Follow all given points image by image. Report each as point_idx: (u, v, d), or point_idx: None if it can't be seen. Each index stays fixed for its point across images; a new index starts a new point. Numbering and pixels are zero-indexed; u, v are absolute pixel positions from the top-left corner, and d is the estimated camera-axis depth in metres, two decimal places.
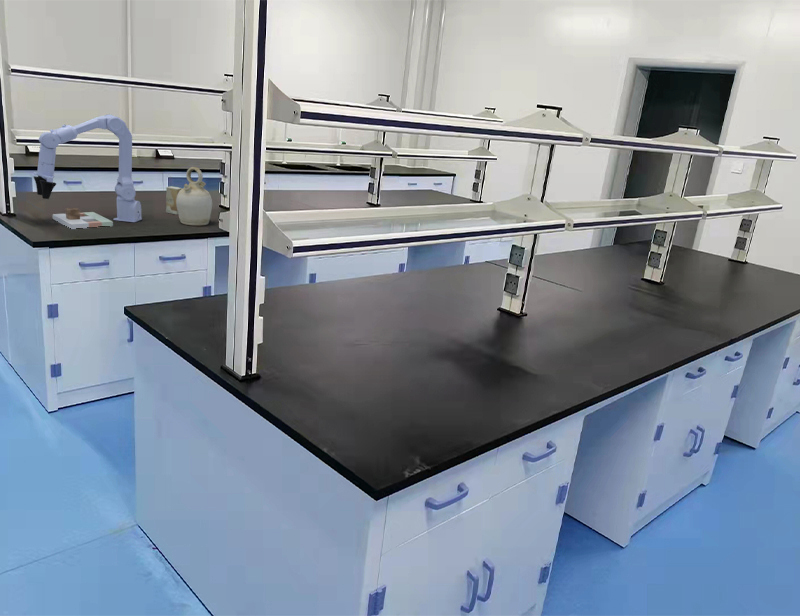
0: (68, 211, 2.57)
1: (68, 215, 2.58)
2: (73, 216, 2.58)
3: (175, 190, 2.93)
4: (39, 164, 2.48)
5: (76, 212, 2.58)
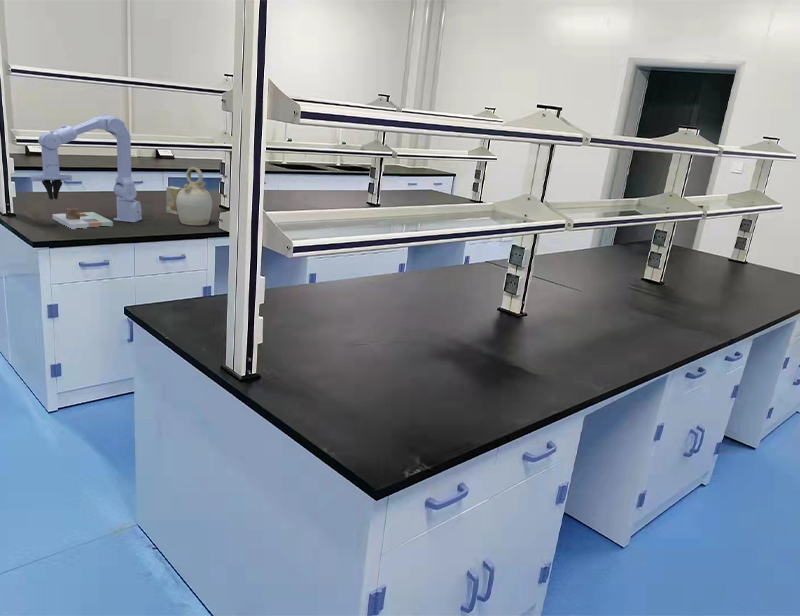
0: (68, 211, 2.57)
1: (68, 215, 2.58)
2: (73, 216, 2.58)
3: (175, 190, 2.93)
4: (55, 167, 2.47)
5: (76, 212, 2.58)
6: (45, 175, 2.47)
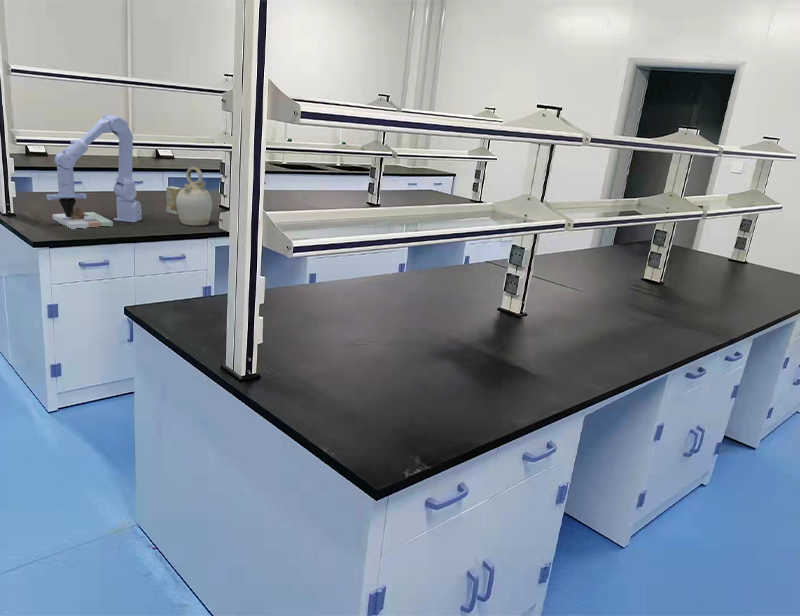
0: (72, 211, 2.58)
1: (72, 215, 2.59)
2: (77, 216, 2.59)
3: (175, 190, 2.93)
4: (70, 186, 2.53)
5: (80, 211, 2.59)
6: (61, 194, 2.53)
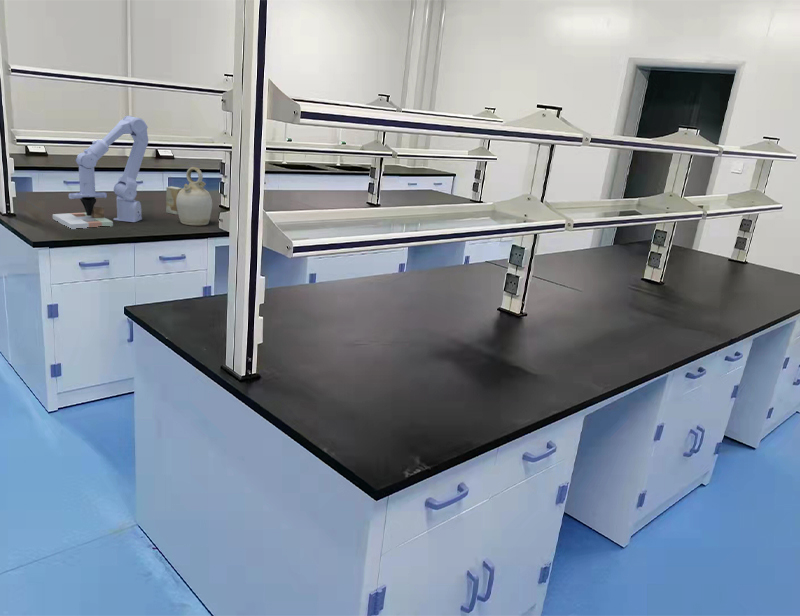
0: (93, 209, 2.64)
1: (93, 213, 2.64)
2: (97, 214, 2.65)
3: (175, 190, 2.93)
4: (92, 185, 2.59)
5: (100, 210, 2.65)
6: (82, 193, 2.58)
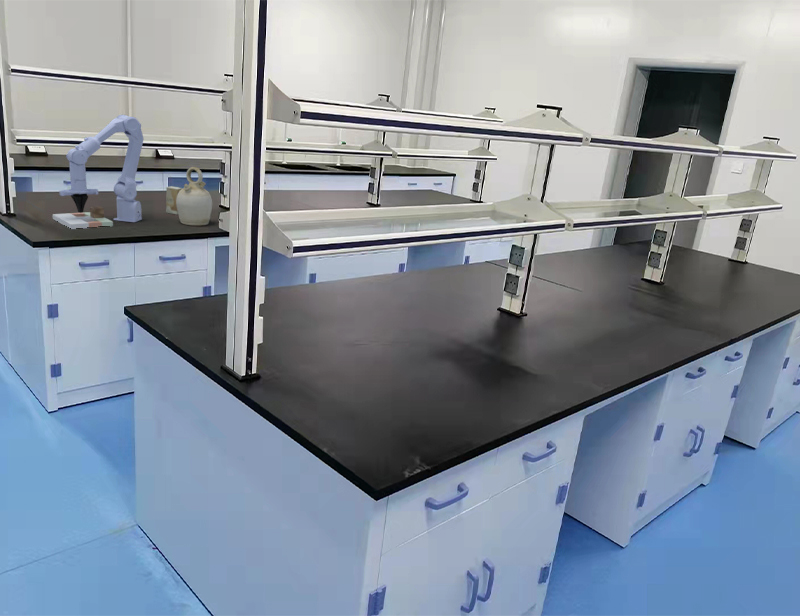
0: (92, 210, 2.64)
1: (92, 214, 2.64)
2: (97, 215, 2.65)
3: (175, 190, 2.93)
4: (83, 182, 2.56)
5: (100, 210, 2.65)
6: (73, 189, 2.56)
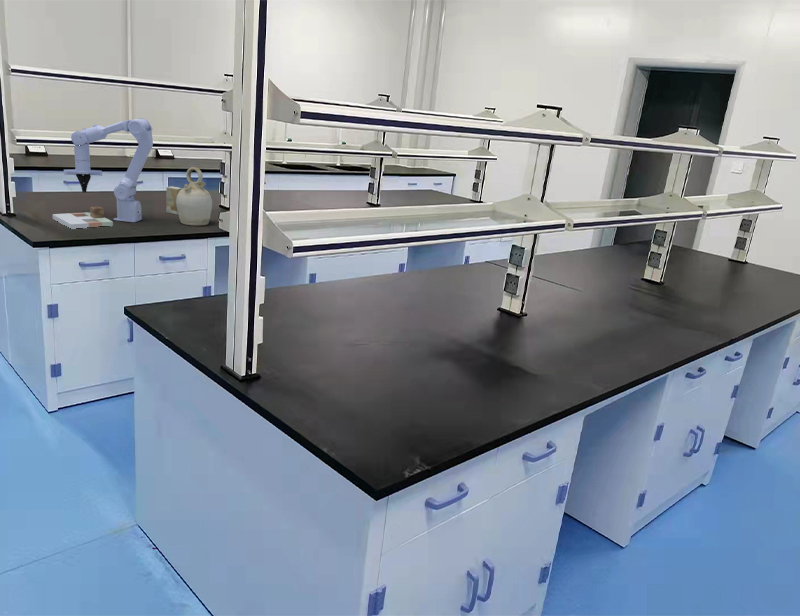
0: (92, 210, 2.64)
1: (92, 214, 2.64)
2: (97, 215, 2.65)
3: (175, 190, 2.93)
4: (85, 163, 2.66)
5: (100, 210, 2.65)
6: (76, 169, 2.66)
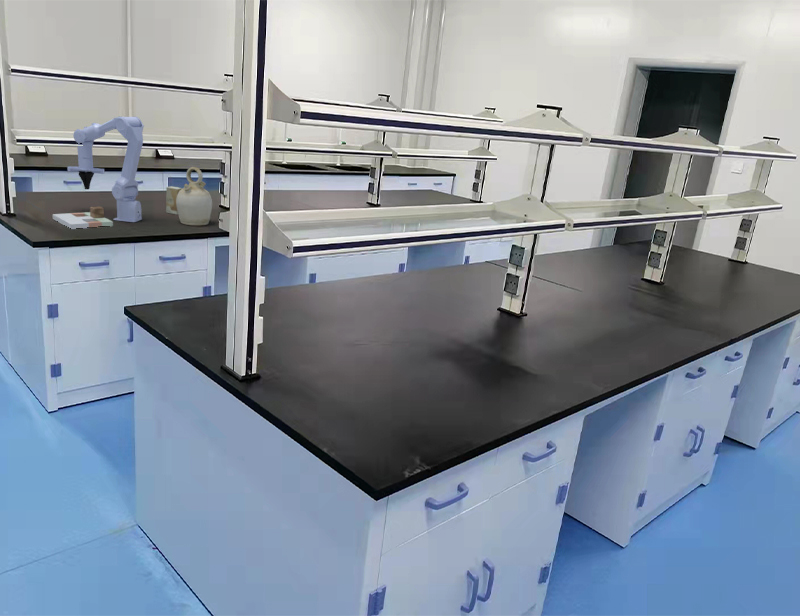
0: (92, 210, 2.64)
1: (92, 214, 2.64)
2: (97, 215, 2.65)
3: (175, 190, 2.93)
4: (85, 160, 2.72)
5: (100, 210, 2.65)
6: None
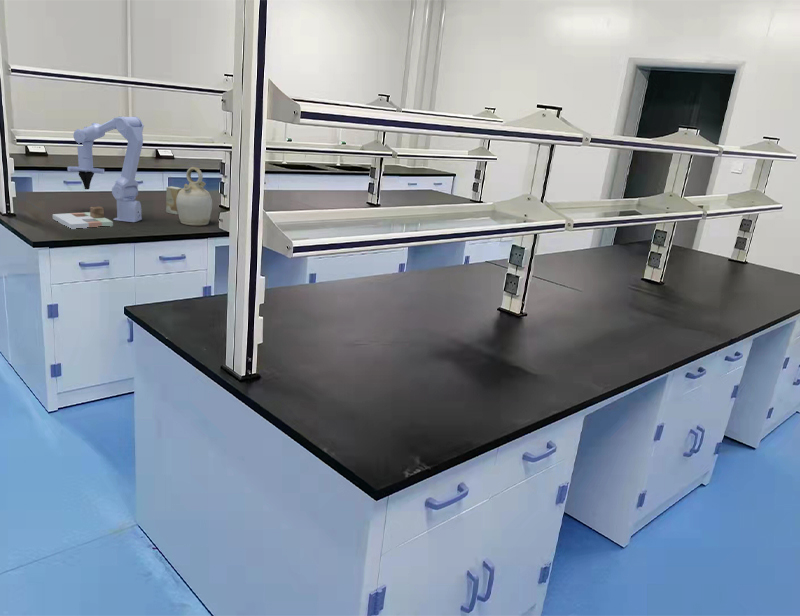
0: (92, 210, 2.64)
1: (92, 214, 2.64)
2: (97, 215, 2.65)
3: (175, 190, 2.93)
4: (85, 160, 2.72)
5: (100, 210, 2.65)
6: None
